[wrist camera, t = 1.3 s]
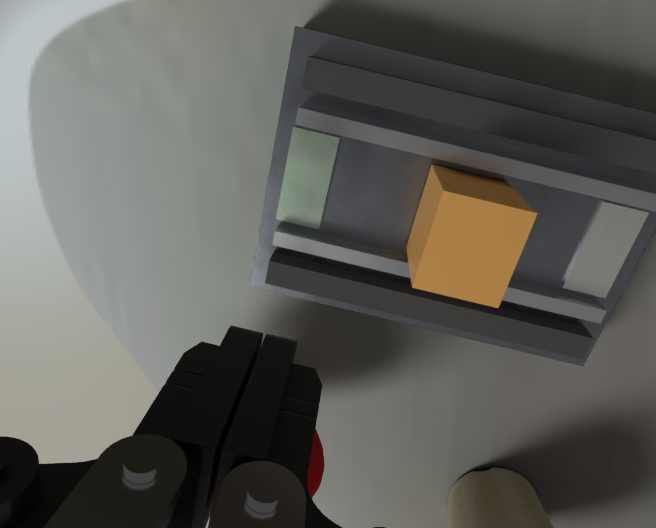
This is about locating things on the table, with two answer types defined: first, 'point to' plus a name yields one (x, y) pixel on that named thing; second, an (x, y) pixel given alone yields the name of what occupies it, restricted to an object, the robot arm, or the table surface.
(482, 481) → the flower pot
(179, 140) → the table surface
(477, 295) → the tan cardboard cube
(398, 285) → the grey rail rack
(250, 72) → the table surface
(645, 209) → the panel
